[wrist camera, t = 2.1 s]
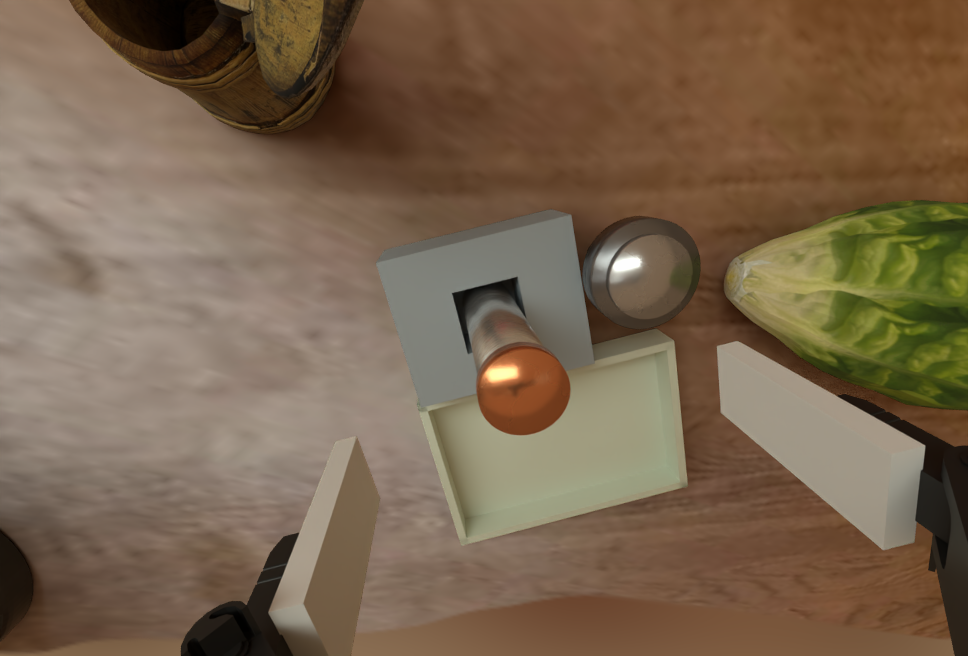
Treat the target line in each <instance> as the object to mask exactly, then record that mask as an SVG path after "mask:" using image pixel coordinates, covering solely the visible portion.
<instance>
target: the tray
mask: <svg viewBox="0 0 968 656" xmlns="http://www.w3.org/2000/svg"><path fill="white" fill-rule="evenodd" d="M592 348H593V355H594V361H595V364H591V365H587V366H583V367H579V368H575V369H572V370H568V371H566V372H567V375H568V377H569V381H570V388H571V390H570V399H569V402H568V405H567V407H566V409H565V411H564V412H563V414H562V415H561V417H560V418H559V419H558V420H557V421H556V422H555V423H554V424H552V425H551V426H550V427H548V428H546V429H545V430H542V431H540V432H538V433H534V434H530V435H511V434H507V433H504V432H502V431H499V430H498V429H496V428H494V427H493V426H492V425H491V424H490V423H489V422H488V421H487V420H486V419H485V417H484V416H483V414H482V412H481V410H480V407H479V403H478V398H477V394H473V395H470V396H466V397H462V398H458V399H454V400H450V401H446V402H442V403H438V404H434V405H430V406H426V407H422V408H421V406H420V402H419V399H418V403H417V407H418V410H419V413H420V416H421V419H422V423H423V426H424V429H425V432H426V435H427V438H428V442H429V445H430V448H431V451H432V454H433V458H434V461H435V464H436V467H437V470H438V473H439V477H440V480H441V483H442V486H443V489H444V492H445V496H446V499H447V502H448V505H449V508H450V512H451V515H452V518H453V521H454V524H455V527H456V531H457V534H458V537H459V540H460V543H461V546H463V545H466V544H470V543H474V542H478V541H482V540H485V539H489V538H493V537H497V536H501V535H504V534H508V533H512V532H516V531H520V530H523V529H527V528H531V527H535V526H539V525H542V524H546V523H550V522H554V521H558V520H561V519H565V518H569V517H573V516H577V515H580V514H584V513H588V512H592V511H596V510H600V509H603V508H607V507H611V506H615V505H619V504H622V503H626V502H630V501H634V500H638V499H641V498H645V497H649V496H653V495H657V494H660V493H664V492H668V491H672V490H676V489H679V488H683V487H687V486H688V483H687V472H686V462H685V451H684V440H683V430H682V419H681V408H680V398H679V387H678V376H677V366H676V355H675V345H674V340H673V339H671V338H670V337H668V336H667V335H665V334H664V333H662V332H661V331H659V330H658V329H657V328H656V329H652V330H648V331H644V332H640V333H636V334H632V335H629V336H625V337H621V338H617V339H613V340H609V341H605V342H601V343H597V344H593V345H592Z"/></svg>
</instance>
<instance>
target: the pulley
mask: <svg viewBox="0 0 968 656" xmlns="http://www.w3.org/2000/svg"><path fill="white" fill-rule="evenodd" d="M699 277H700V256H699V253H698V249H697V247H696V244H695V242H694V241H693V239H692V238H691V236H690V235H689V234H688V233H687V232H686V231H685V230H684V229H683V228H682V227H680V226H678V225H677V224H675V223H672V222H670V221H666V220H662V219H657V218H652V217H645V216H634V217H628V218H625V219H622V220H619V221H617V222H615V223H613V224H612V225H610V226H608V227H607V228H606V229H605V230H603V231H602V232H601V233H600V234H599V235H598V236H597V237H596V239H595V240H594V241H593V243H592V244H591V246H590V247H589V248H588V251H587V254H586V257H585V260H584V265H583V284H584V289H585V291H586V294H587V296H588V298H589V300H590V301H591V303H592V304H593V305H594V306H595V307H596V308H597V309H598V310H599V311H600V312H601V313H603V314H604V315H605V316H606V317H607V318H609V319H610V320H611V321H613V322H614V323H616V324H618V325H620V326H623V327H626V328H631V329H647V328H652V327H655V326H658V325H661V324H663V323H665V322H667V321H669V320H670V319H672V318H673V317H675V316H676V315H677V314H678V313H679V312H680V311H681V310H683V308H684V307H685V306H686V305H687V304H688V302H689V301H690V299H691V298H692V296H693V294H694V292H695V290H696V287H697V285H698V281H699Z"/></svg>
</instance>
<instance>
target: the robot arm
mask: <svg viewBox="0 0 968 656" xmlns="http://www.w3.org/2000/svg"><path fill="white" fill-rule="evenodd" d="M717 356H718V372H719V389H720V405H721V413H722V414H723V415H724V416H725V417H727V418H728V419H729V420H730V421H731V422H733V423H734V424H735V425H736V426H737V427H738V428H740V429H741V430H742V431H743V432H744V433H746V434H747V435H748V436H749V437H750V438H751V439H753V440H754V441H755V442H756V443H757V444H759V445H760V446H761V447H762V448H763V449H764V450H766V451H767V452H768V453H769V454H770V455H772V456H773V457H774V458H775V459H776V460H777V461H779V462H780V463H781V464H782V465H783V466H785V467H786V468H787V469H788V470H789V471H790V472H792V473H793V474H794V475H795V476H796V477H797V478H799V479H800V480H801V481H802V482H803V483H805V484H806V485H807V486H808V487H809V488H810V489H812V490H813V491H814V492H815V493H816V494H818V495H819V496H820V497H821V498H822V499H823V500H825V501H826V502H827V503H828V504H829V505H831V506H832V507H833V508H834V509H835V510H836V511H838V512H839V513H840V514H841V515H842V516H844V517H845V518H846V519H847V520H848V521H849V522H851V523H852V524H853V525H854V526H855V527H857V528H858V529H859V530H860V531H861V532H862V533H864V534H865V535H866V536H867V537H868V538H870V539H871V540H872V541H873V542H874V543H875V544H877V545H878V546H879V547H880V548H881V549H883V550H886V549H890V548H894V547H898V546H902V545H906V544H909V543H913V542H914V541H915V532H916V523H917V522H918V523H919V524H921V525H922V526H924V527H925V528H926V529H928V530H929V531H930V532H932V533H933V538H932V546H931V554H930V561H929V569H928V570H929V571H933V572H935V570H936V569H937V574H938V579H939V583H940V588H941V593H942V597H943V602H944V607H945V612H946V616H947V621H948V626H949V631H950V635H951V640H952V645H953V650H954V654H955V656H968V446H957V447H954V446H952V445H950V444H948V443H946V442H945V441H943V440H941V439H939V438H937V437H935V436H933V435H931V434H929V433H927V432H926V431H924V430H922V429H920V428H918V427H916V426H914V425H912V424H910V423H909V422H907V421H905V420H900V418H899V417H897V416H895V415H893V414H891V413H890V412H887V413H886V411H885V410H884V409H882V408H880V407H878V406H876V405H874V404H873V403H871V402H869V401H867V400H863V399H860V398H856V397H853V396H850V395H846V394H843V395H839V396H835V395H834V394H832V393H830V392H828V391H826V390H825V389H823V388H821V387H819V386H818V385H816V384H814V383H812V382H810V381H809V380H807V379H805V378H803V377H801V376H800V375H798V374H796V373H794V372H792V371H791V370H789V369H787V368H785V367H783V366H782V365H780V364H778V363H776V362H774V361H773V360H771V359H769V358H767V357H766V356H764V355H762V354H760V353H758V352H757V351H755V350H753V349H751V348H749V347H748V346H746V345H744V344H742V343H740V342H739V341H736V342H732V343H728V344H724V345H720V346H717ZM379 502H380V497H379V494H378V491H377V489H376V486H375V483H374V481H373V478H372V475H371V473H370V470H369V467H368V465H367V462H366V459H365V457H364V454H363V451H362V449H361V446H360V443H359V441H358V438H357V436H355V437H351V438H347V439H343V440H339V441H336V442H335V444H334V447H333V449H332V452H331V454H330V457H329V459H328V462H327V464H326V467H325V469H324V472H323V475H322V477H321V480H320V482H319V485H318V487H317V490H316V492H315V495H314V497H313V500H312V503H311V505H310V508H309V510H308V513H307V515H306V518H305V520H304V523H303V525H302V528H301V530H300V533H296V534H292V535H288V536H284V537H283V538H282V539H281V540H280V542H279V543H278V544H277V545H276V546H275V548H274V549H273V550H272V551H271V552H270V554H269V557H268V559H267V561H266V563H265V566H264V568H263V572H261V574H260V577H259V579H258V581H257V585H256V586H255V588H254V590H253V592H252V594H251V597H250V599H249V601H248V603H247V605H245V604H244V603H243V602H241V601H231V602H228V603H225V604H222V605H219V606H218V607H216V608H214V609H213V610H211V611H209V612H208V613H206V614H205V615H204V616H203V617H202V618H201V619H199V620H198V621H197V622H196V623H195V624H194V625H193V627H192V628H191V629H190V631H189V632H188V633H187V634H186V636H185V638H184V641H183V643H182V645H181V656H351V652H352V647H353V642H354V636H355V631H356V626H357V620H358V615H359V609H360V604H361V599H362V593H363V588H364V583H365V577H366V572H367V566H368V561H369V556H370V550H371V545H372V540H373V534H374V529H375V523H376V518H377V513H378V507H379ZM32 595H33V583H32V577H31V573H30V570H29V568H28V566H27V563H26V562H25V560H24V558H23V556H22V555H21V554H20V552H19V551H18V550H17V548H16V547H15V546H14V545H13V544H12V543H11V542H10V541H9V540H8V539H7V538H6V537H5V536H4V535H3V534H2V533H0V642H1V641H2V639H3V638H4V637H5V636H6V635H7V634H8V633H9V632H10V631H11V630H12V629H13V628H14V627H15V626H16V624H17V623H18V622H19V621H20V620H21V619H22V618H23V617H24V615H25V614H26V612H27V610H28V608H29V606H30V603H31V600H32Z"/></svg>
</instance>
